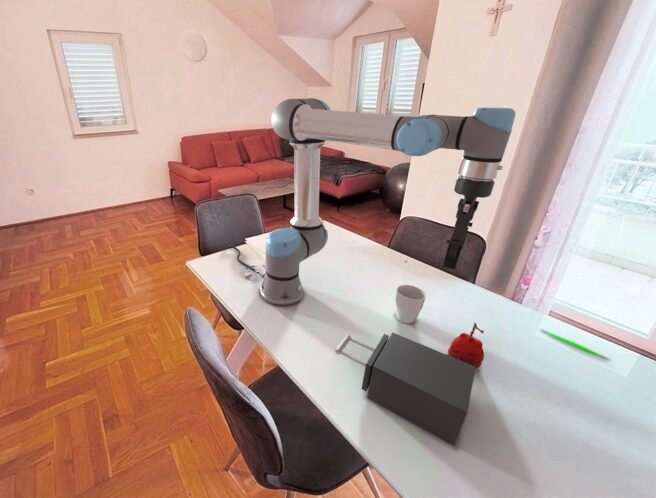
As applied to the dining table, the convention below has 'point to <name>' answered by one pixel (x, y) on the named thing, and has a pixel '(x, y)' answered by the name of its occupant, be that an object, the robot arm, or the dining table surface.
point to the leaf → (574, 344)
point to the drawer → (368, 365)
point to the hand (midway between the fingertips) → (452, 257)
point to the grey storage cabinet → (422, 386)
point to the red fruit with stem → (467, 348)
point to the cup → (409, 302)
